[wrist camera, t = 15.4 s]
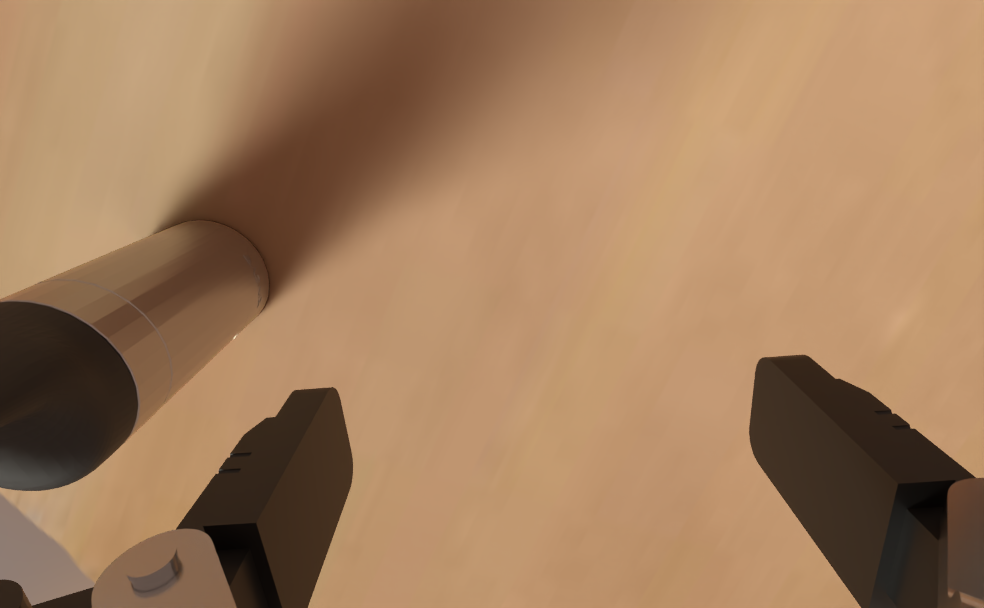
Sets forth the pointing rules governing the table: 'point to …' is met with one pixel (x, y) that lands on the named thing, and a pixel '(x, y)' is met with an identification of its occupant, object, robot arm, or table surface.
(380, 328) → the table surface
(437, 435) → the table surface
